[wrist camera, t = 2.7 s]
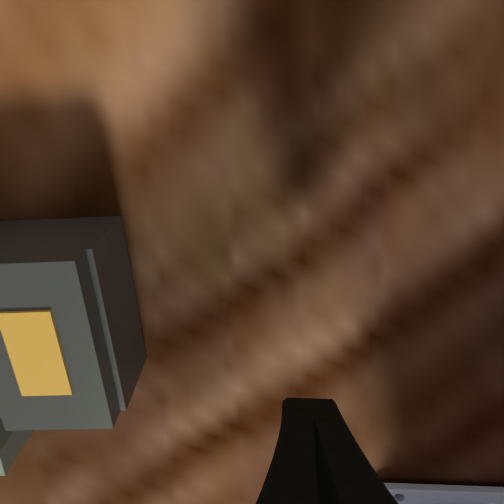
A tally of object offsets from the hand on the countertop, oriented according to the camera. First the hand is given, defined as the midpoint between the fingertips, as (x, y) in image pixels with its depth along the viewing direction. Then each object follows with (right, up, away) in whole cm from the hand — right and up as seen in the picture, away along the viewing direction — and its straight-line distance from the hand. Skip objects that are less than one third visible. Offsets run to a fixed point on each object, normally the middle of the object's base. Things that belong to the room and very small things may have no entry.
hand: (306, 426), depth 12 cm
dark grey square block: (-9, +3, +5) cm, 11 cm away
